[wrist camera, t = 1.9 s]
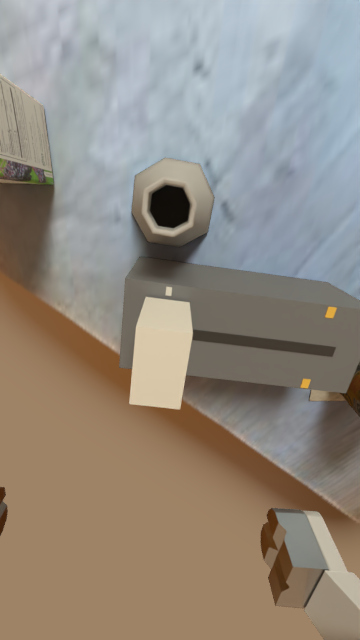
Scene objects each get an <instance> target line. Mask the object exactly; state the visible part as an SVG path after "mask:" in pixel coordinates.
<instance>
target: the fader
mask: <svg viewBox="0 0 360 640" xmlns="http://www.w3.org/2000/svg"><path fill="white" fill-rule="evenodd" d="M192 336H193V329H192V320H191V311H190V302H183V301H175V300H167V299H160V298H152V297H146V298H145V301H144V304H143V307H142V310H141V313H140V316H139V319H138V322H137V325H136V332H135V344H134V355H133V366H132V378H131V389H130V400H129V404H134V405H144V406H154V407H163V408H171V409H180V407H181V401H182V395H183V389H184V383H185V377H186V371H187V366H188V360H189V354H190V348H191V342H192Z"/></svg>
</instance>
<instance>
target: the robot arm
mask: <svg viewBox="0 0 360 640" xmlns="http://www.w3.org/2000/svg"><path fill="white" fill-rule="evenodd" d="M5 495H6V494H5V488H4V487H0V535H1V533H2V531H3V528H4V525H5V522H6V519H7V512H8V510H7V505H6V504H5V503H4V502H3V499H4V497H5ZM267 519H268V522H267V523H265V524H264V525H263V527H262V530H261V549H262V554H263V558H264V561H265V562H266V563H267V565H268V566H269V567H270V568H271V571H270V574H269V577H268V579H269V583H270V586H271V591H272V594H273V598H274V602H275V606H284V607H294V608H305V609H304V611H305V612H306V614H307V615H308V617H309V618H310V620H311V621H312V623H313V624H314V626H315V627H316V629H317V630H318V631H319V633H320V634H321V636H322V637H323V639H324V640H360V579H359V578H358V577H357V576H356V575H355V574H354V573H353V572H348V571H347V568H346V567H345V564H344V562H343V560H342V558H341V556H340V554H339V552H338V550H337V547H336V545H335V543H334V541H333V539H332V537H331V535H330V533H329V531H328V529H327V526H326V524H325V522H324V520H323V518H322V516H321V515H320V514H319V513H318V512H316V511H301V510H294V509H278V508H271V509H269V511H268V514H267Z"/></svg>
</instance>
